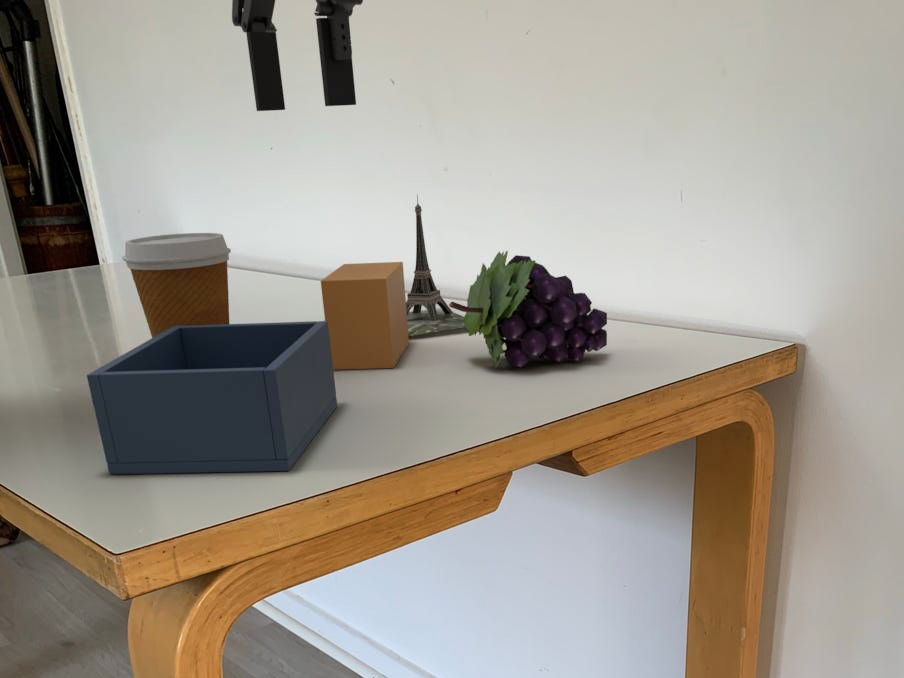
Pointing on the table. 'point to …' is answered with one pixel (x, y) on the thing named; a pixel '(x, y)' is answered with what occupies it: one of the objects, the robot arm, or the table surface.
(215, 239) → the disposable coffee cup
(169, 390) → the compartment
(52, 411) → the table surface
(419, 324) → the eiffel tower figurine
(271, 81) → the robot arm
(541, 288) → the fruit
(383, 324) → the tan cardboard-coloured block
